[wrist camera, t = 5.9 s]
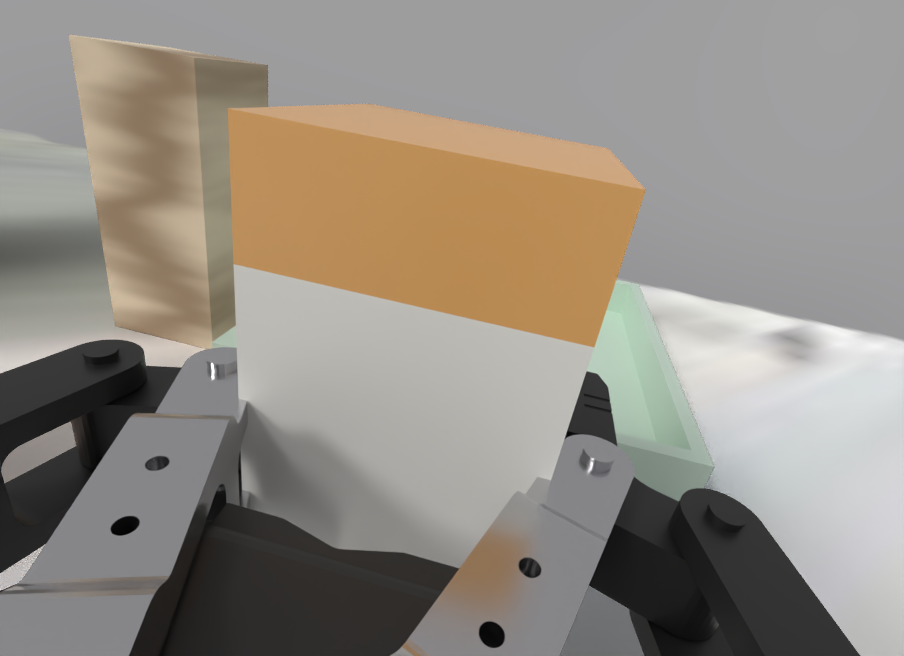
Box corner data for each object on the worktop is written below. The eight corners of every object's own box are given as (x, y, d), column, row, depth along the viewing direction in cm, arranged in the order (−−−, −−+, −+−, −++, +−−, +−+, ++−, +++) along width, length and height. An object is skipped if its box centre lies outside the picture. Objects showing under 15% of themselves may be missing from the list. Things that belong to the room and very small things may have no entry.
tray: (215, 404, 20) (211, 342, 18) (371, 266, 36) (374, 227, 34) (683, 527, 18) (714, 466, 16) (625, 322, 34) (638, 284, 32)
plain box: (115, 325, 24) (68, 34, 18) (186, 289, 28) (165, 46, 23) (212, 350, 23) (194, 57, 18) (269, 309, 27) (267, 65, 22)
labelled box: (249, 678, 11) (227, 108, 6) (337, 514, 16) (369, 103, 10) (463, 748, 11) (646, 190, 5) (492, 558, 15) (608, 148, 10)
